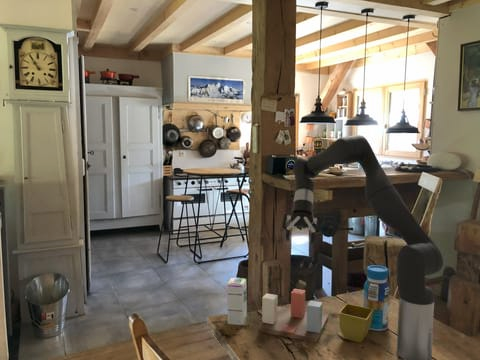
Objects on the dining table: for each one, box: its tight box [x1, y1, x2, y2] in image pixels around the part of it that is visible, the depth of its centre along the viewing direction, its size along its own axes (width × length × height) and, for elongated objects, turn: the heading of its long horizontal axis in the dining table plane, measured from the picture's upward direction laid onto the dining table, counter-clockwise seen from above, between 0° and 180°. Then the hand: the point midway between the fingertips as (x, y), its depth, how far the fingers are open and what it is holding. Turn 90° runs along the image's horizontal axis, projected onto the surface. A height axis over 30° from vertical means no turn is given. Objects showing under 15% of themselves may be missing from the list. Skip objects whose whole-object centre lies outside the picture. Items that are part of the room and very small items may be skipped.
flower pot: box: [338, 303, 373, 344], centre depth 131 cm, size 9×9×9 cm
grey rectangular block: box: [306, 300, 323, 333], centre depth 132 cm, size 4×4×8 cm
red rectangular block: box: [290, 288, 306, 318], centre depth 143 cm, size 4×4×8 cm
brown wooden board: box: [258, 305, 329, 344], centre depth 140 cm, size 19×18×2 cm
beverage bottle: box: [362, 264, 391, 332], centre depth 138 cm, size 8×8×20 cm
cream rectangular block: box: [261, 292, 279, 324], centre depth 138 cm, size 4×4×8 cm
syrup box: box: [226, 277, 248, 326], centre depth 142 cm, size 6×6×14 cm
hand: (299, 241), depth 153 cm, fingers open, 8 cm apart
